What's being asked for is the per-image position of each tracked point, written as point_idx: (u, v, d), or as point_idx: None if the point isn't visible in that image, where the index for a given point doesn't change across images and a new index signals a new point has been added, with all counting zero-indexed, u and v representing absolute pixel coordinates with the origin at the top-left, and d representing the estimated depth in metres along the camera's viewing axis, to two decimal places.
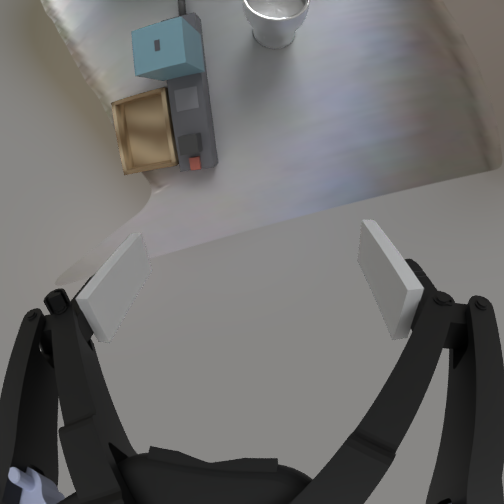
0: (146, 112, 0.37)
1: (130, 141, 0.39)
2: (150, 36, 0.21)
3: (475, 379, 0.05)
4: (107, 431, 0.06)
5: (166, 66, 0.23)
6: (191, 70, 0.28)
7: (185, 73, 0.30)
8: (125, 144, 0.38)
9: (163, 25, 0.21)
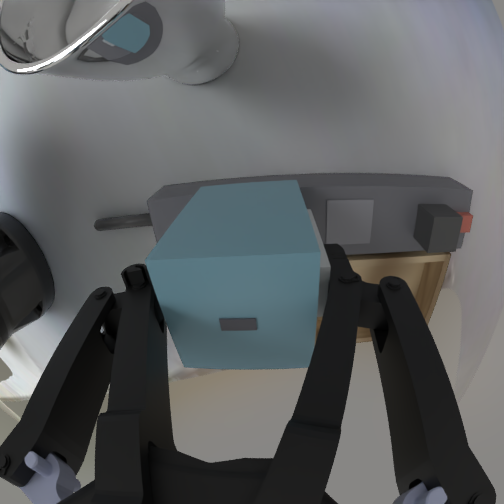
0: None
1: None
2: (203, 336, 0.11)
3: (405, 361, 0.07)
4: (152, 427, 0.06)
5: (315, 303, 0.10)
6: None
7: None
8: None
9: (173, 306, 0.10)
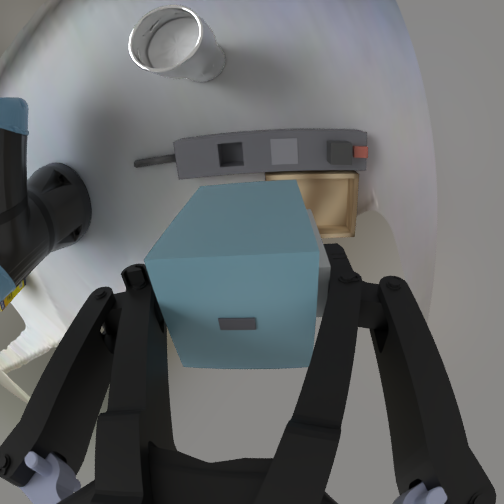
0: None
1: (317, 224, 0.39)
2: (202, 335, 0.11)
3: (405, 361, 0.07)
4: (152, 427, 0.06)
5: (314, 303, 0.10)
6: None
7: None
8: (320, 230, 0.38)
9: (172, 305, 0.10)
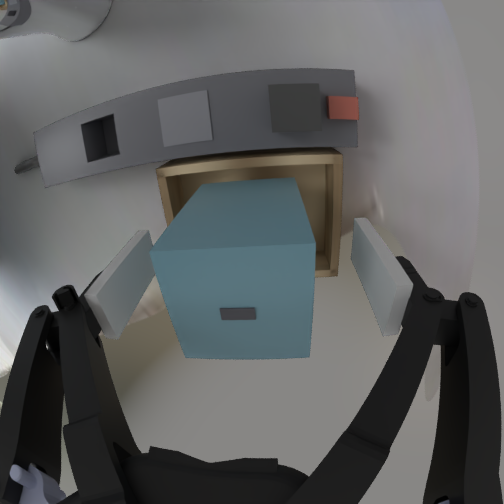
0: None
1: None
2: (204, 326, 0.12)
3: (468, 376, 0.05)
4: (112, 429, 0.06)
5: (311, 293, 0.10)
6: None
7: None
8: None
9: (176, 296, 0.11)
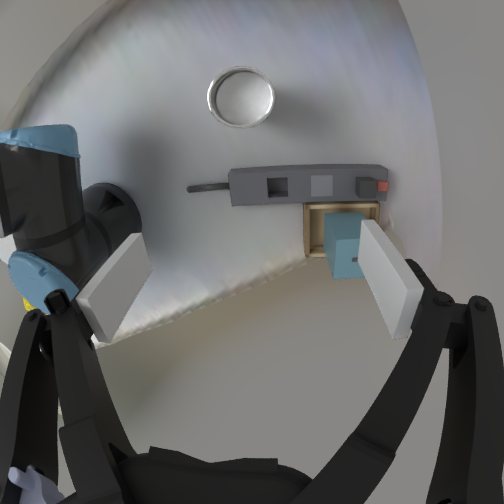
0: (321, 225, 0.45)
1: None
2: (345, 264, 0.35)
3: (475, 379, 0.05)
4: (107, 430, 0.06)
5: None
6: None
7: None
8: None
9: (339, 254, 0.34)
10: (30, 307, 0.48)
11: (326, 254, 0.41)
